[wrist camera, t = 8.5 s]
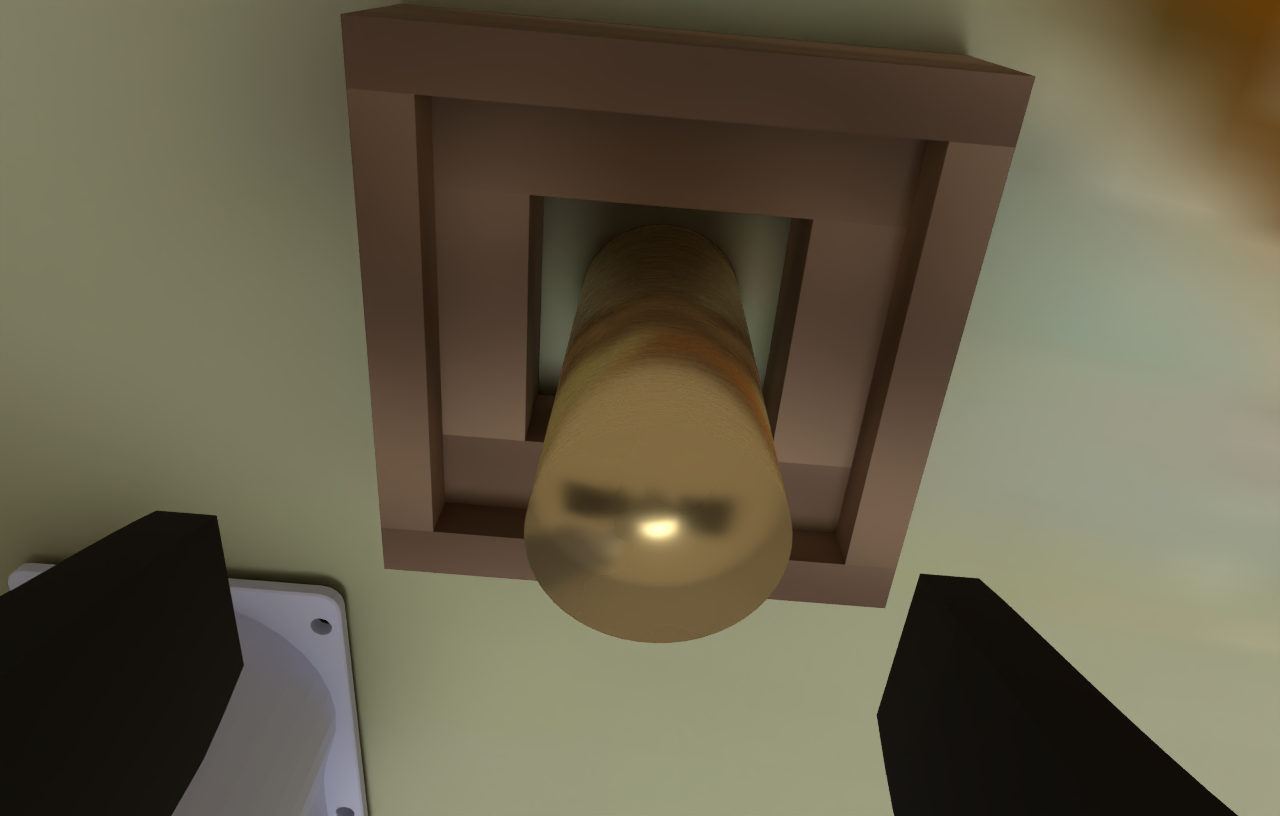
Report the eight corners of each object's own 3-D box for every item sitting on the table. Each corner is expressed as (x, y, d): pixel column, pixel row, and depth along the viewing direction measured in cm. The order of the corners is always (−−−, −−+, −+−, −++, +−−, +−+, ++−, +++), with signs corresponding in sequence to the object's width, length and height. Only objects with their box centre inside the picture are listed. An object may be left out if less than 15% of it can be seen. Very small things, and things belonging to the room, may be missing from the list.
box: (854, 520, 20) (884, 608, 17) (422, 485, 19) (384, 568, 17) (968, 55, 15) (1035, 76, 12) (398, 3, 15) (340, 14, 12)
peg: (732, 374, 18) (778, 646, 11) (582, 370, 18) (529, 638, 11) (745, 226, 16) (807, 429, 9) (580, 221, 16) (518, 420, 9)
